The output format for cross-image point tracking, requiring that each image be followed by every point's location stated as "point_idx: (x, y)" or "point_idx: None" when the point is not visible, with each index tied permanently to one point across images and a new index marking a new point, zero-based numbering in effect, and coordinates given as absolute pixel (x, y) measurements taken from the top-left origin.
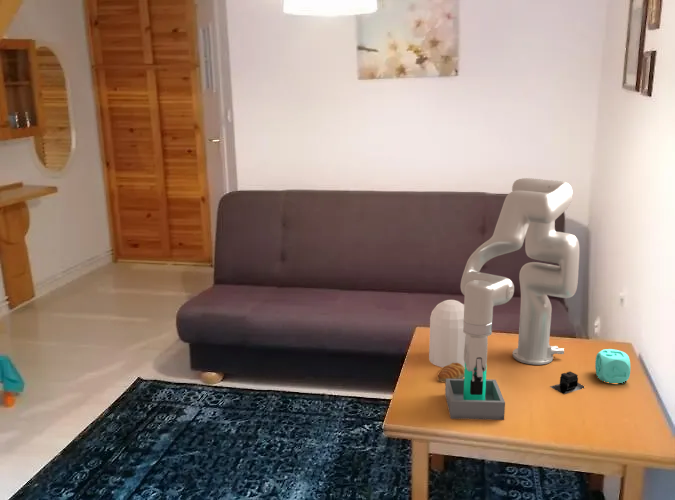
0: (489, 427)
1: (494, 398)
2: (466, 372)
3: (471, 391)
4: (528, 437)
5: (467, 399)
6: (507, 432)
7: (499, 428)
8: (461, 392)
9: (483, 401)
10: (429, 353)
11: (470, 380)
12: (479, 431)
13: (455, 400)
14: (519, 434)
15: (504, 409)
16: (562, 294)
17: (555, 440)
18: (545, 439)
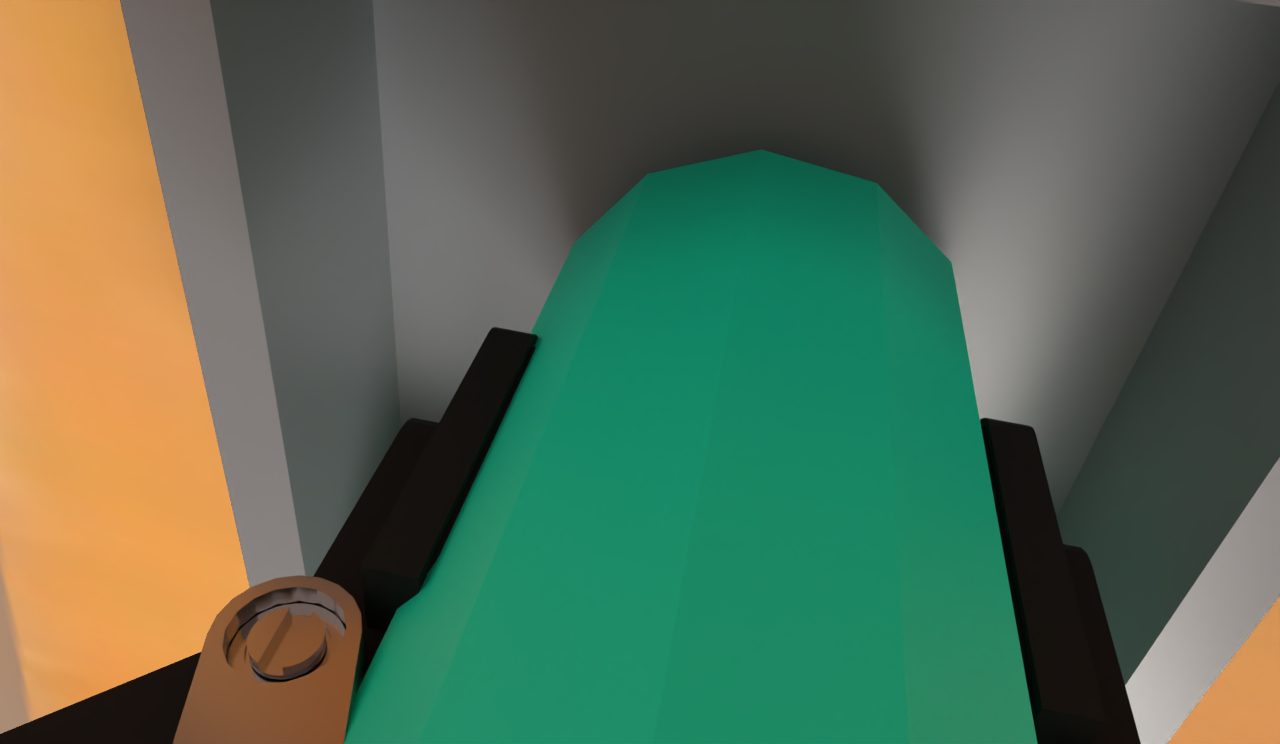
0: (157, 269)
1: None
2: (502, 707)
3: (470, 379)
4: (57, 542)
5: (620, 214)
6: (95, 413)
7: (164, 368)
8: (1221, 215)
9: (243, 439)
10: None
11: (445, 565)
12: (7, 106)
13: None
14: (90, 498)
15: None
16: None
17: (78, 684)
18: (69, 636)
